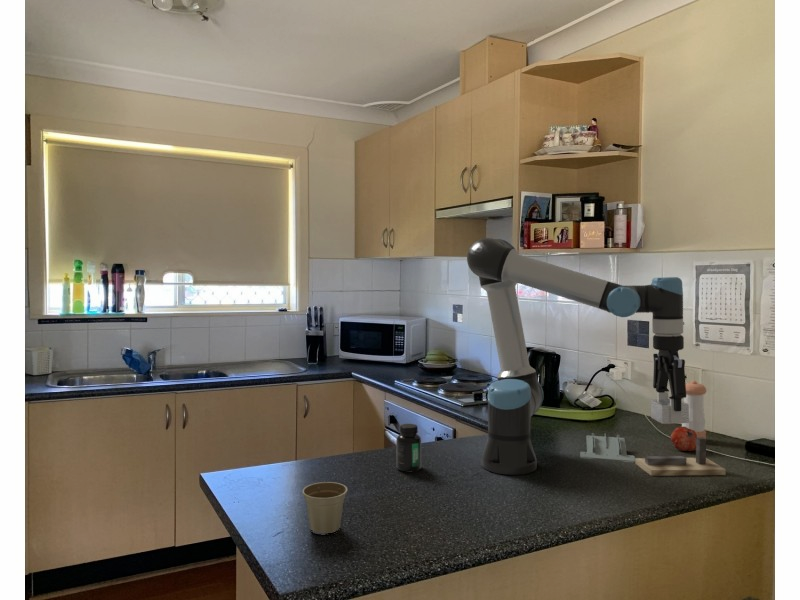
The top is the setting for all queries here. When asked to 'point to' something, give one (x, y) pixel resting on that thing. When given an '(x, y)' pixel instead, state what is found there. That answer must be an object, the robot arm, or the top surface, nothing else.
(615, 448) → the metal bracket
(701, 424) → the pepper shaker
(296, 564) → the top surface
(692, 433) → the pomegranate
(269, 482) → the top surface
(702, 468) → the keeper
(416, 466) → the supplement bottle
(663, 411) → the grey square socket block
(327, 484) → the flower pot
